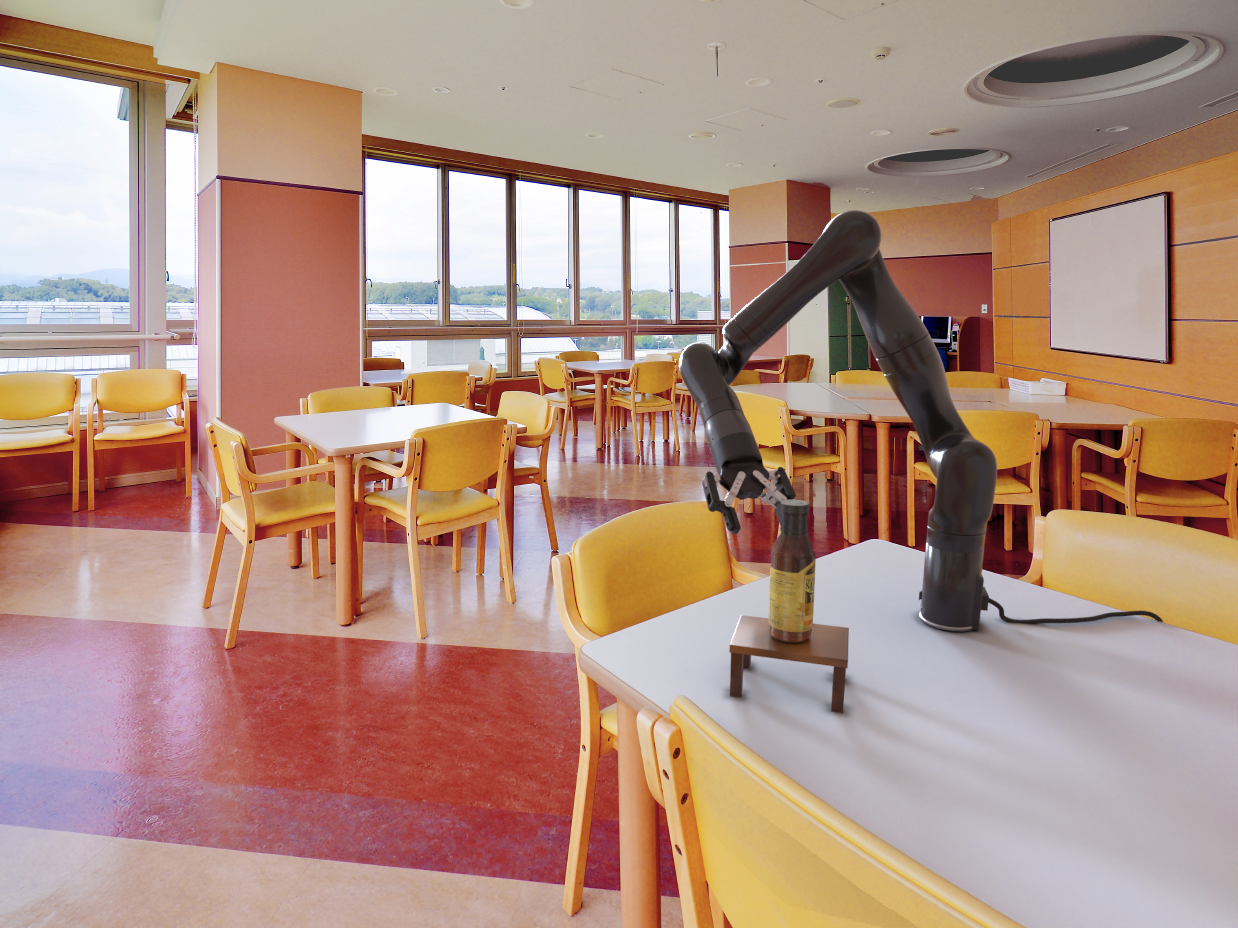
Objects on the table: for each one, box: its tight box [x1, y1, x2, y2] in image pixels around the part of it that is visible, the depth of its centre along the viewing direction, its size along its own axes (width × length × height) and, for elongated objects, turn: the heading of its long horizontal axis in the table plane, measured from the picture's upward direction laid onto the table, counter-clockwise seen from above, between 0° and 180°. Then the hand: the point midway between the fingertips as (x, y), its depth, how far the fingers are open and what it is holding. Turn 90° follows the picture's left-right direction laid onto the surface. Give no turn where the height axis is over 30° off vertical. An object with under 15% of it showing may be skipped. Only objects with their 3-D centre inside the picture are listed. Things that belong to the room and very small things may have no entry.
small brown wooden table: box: [728, 614, 850, 714], centre depth 107 cm, size 16×11×8 cm
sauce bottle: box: [768, 499, 817, 643], centre depth 104 cm, size 7×6×20 cm
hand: (762, 529), depth 112 cm, fingers open, 8 cm apart
